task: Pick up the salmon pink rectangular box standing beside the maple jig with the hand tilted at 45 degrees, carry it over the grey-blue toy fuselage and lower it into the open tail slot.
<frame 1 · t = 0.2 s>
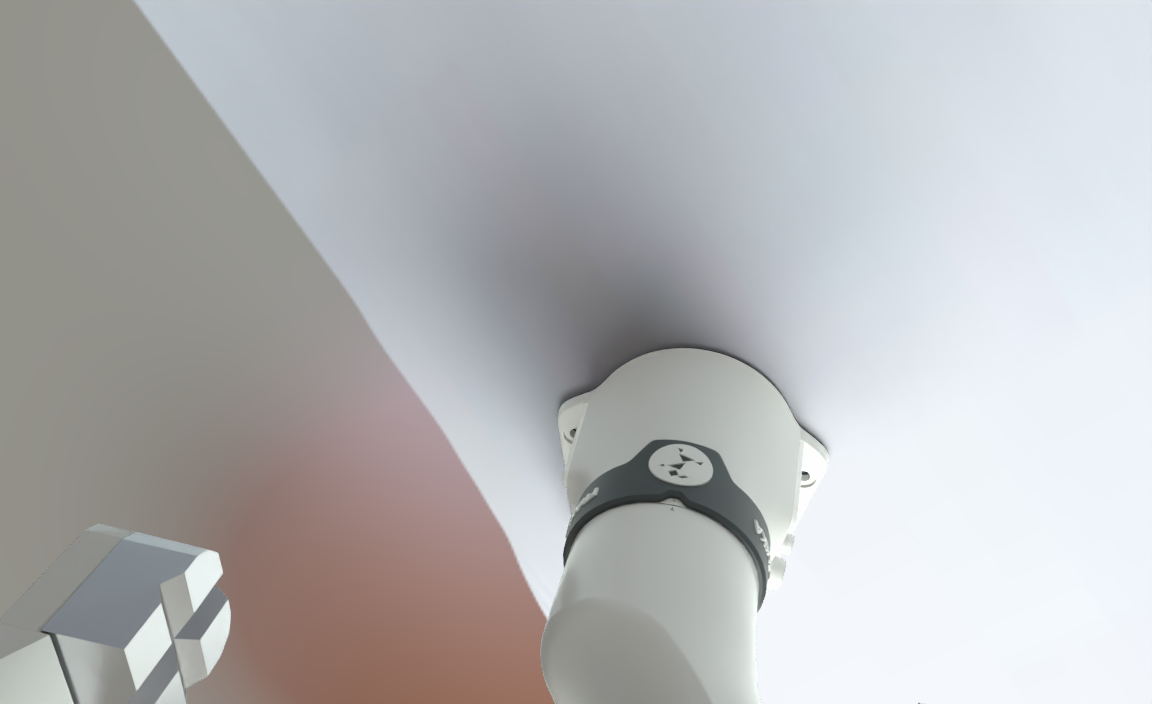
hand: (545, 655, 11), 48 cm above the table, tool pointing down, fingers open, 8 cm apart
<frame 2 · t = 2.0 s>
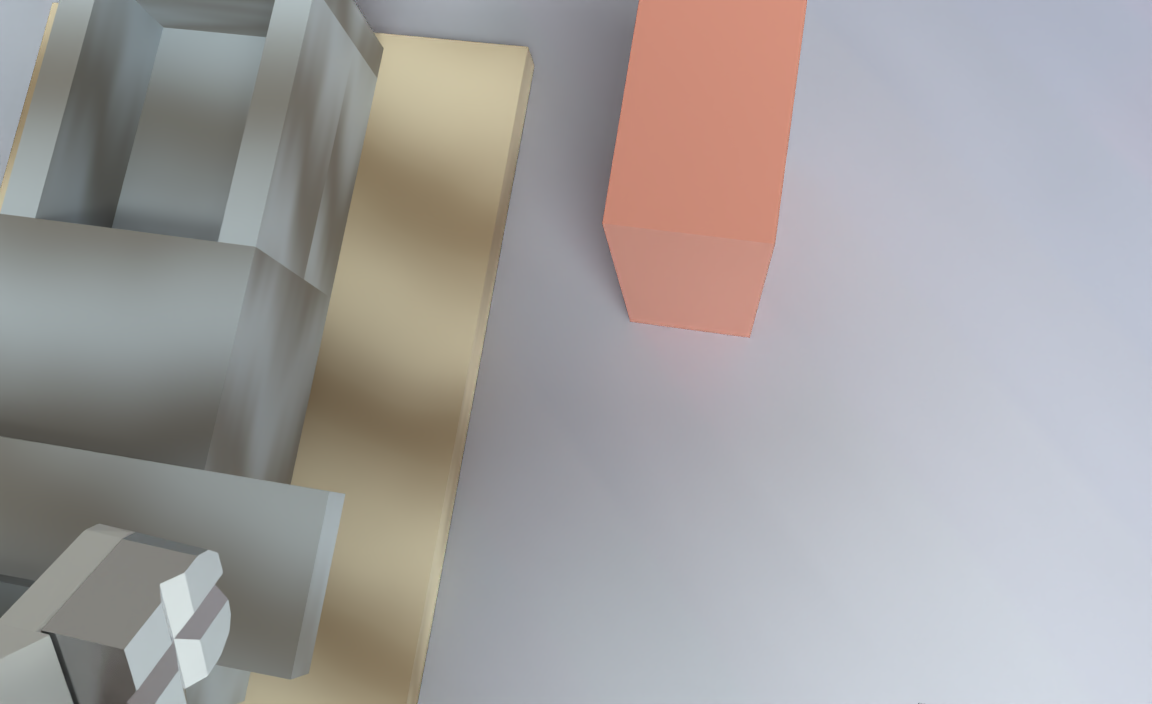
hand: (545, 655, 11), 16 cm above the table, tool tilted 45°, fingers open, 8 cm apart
jig: (220, 370, 30), on the table
salmon pink rectangular box: (702, 240, 29), on the table
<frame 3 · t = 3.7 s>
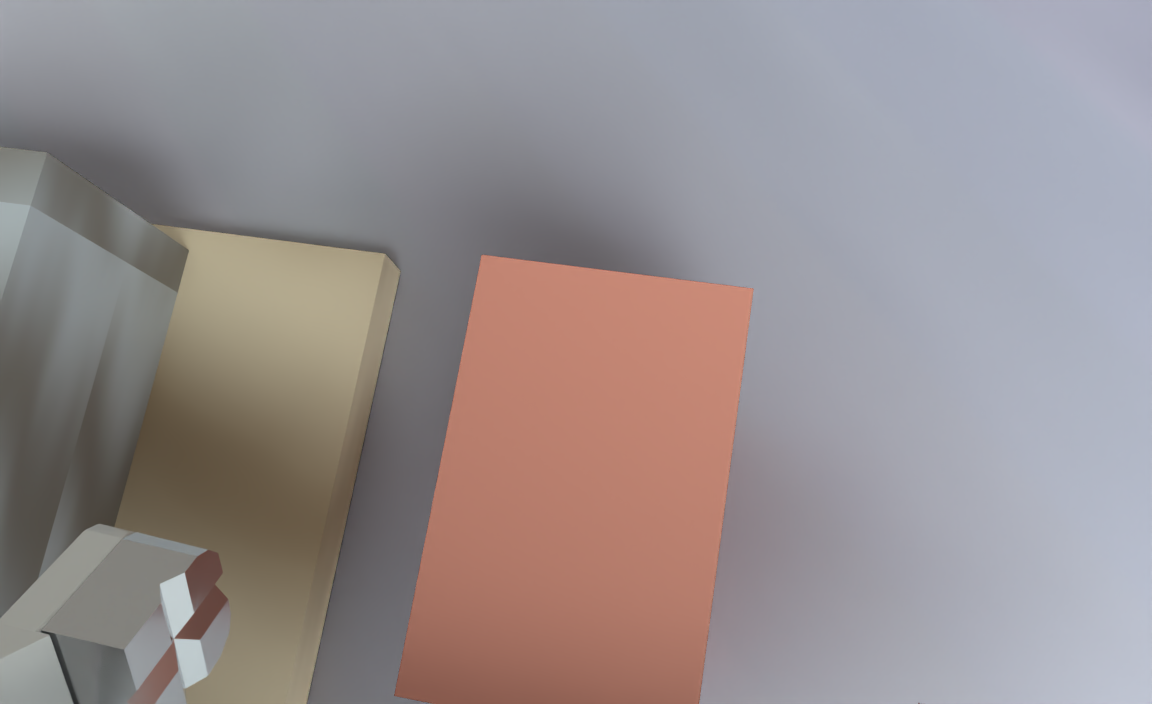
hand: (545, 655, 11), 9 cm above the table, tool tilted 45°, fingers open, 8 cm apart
salmon pink rectangular box: (624, 531, 20), on the table
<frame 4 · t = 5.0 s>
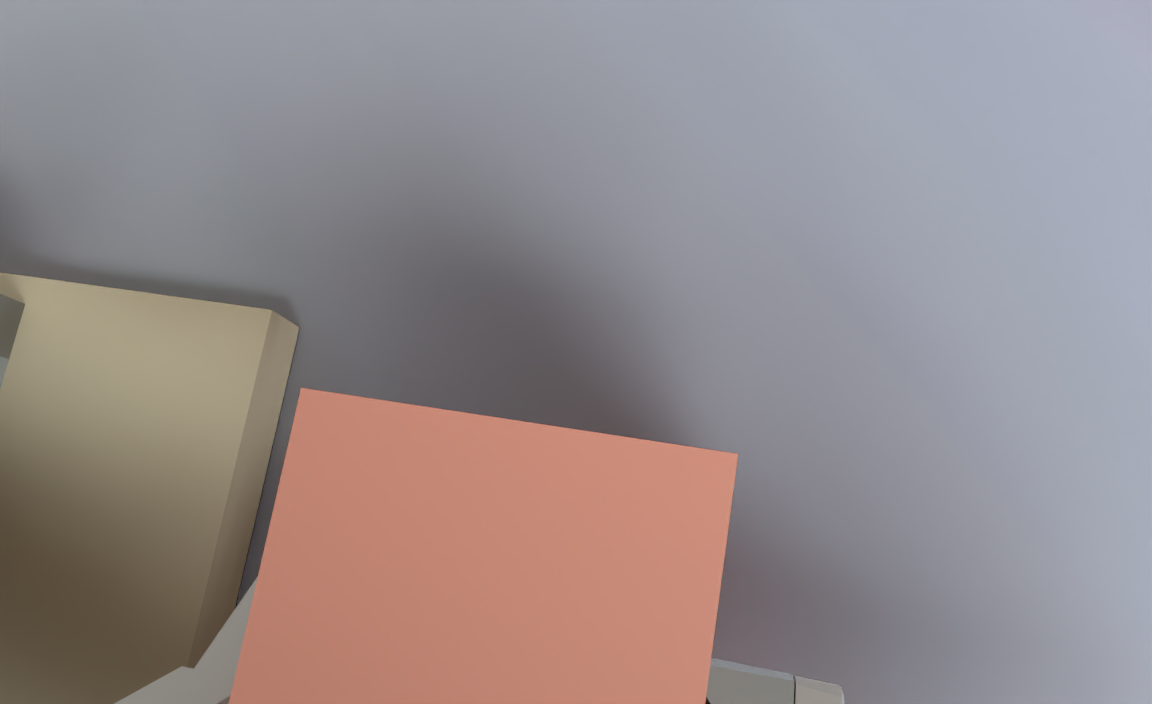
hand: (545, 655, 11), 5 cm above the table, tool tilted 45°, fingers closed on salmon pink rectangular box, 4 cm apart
salmon pink rectangular box: (579, 672, 16), on the table, touching gripper
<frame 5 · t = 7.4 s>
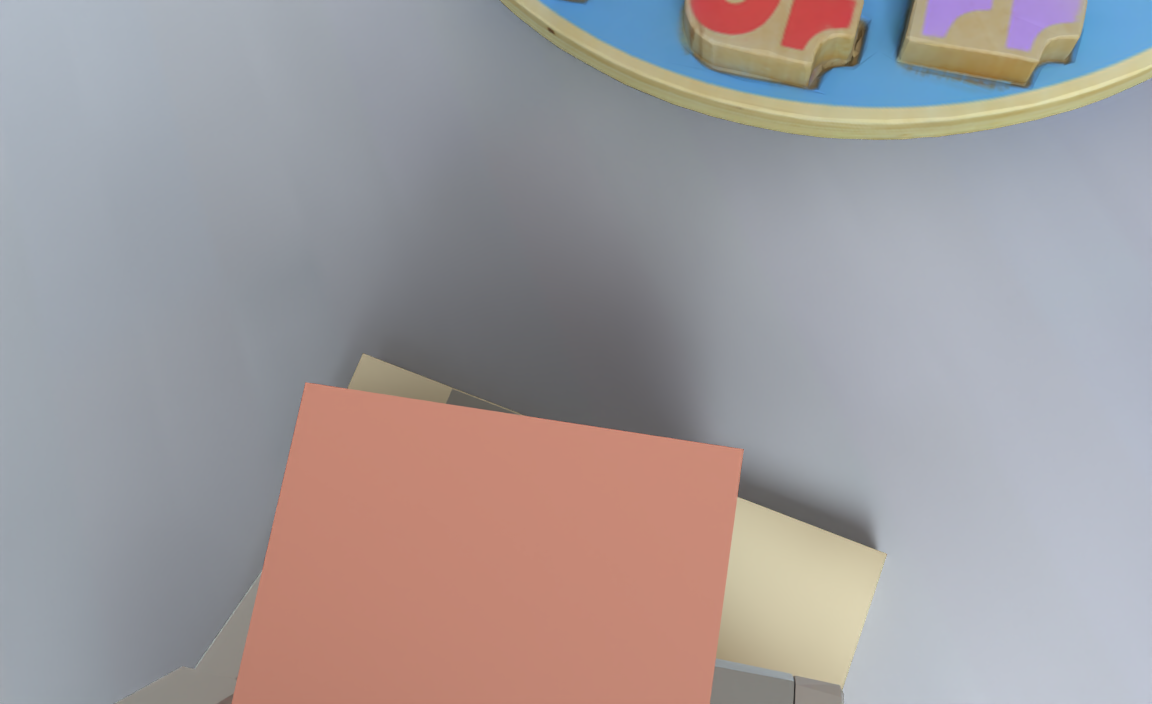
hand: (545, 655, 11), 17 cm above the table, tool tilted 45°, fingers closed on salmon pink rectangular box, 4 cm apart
salmon pink rectangular box: (581, 669, 16), point 12 cm above the table, touching gripper
when the fingers open (9 cm above the table, at t = 9.6 s): salmon pink rectangular box drops 1 cm, resting on jig.
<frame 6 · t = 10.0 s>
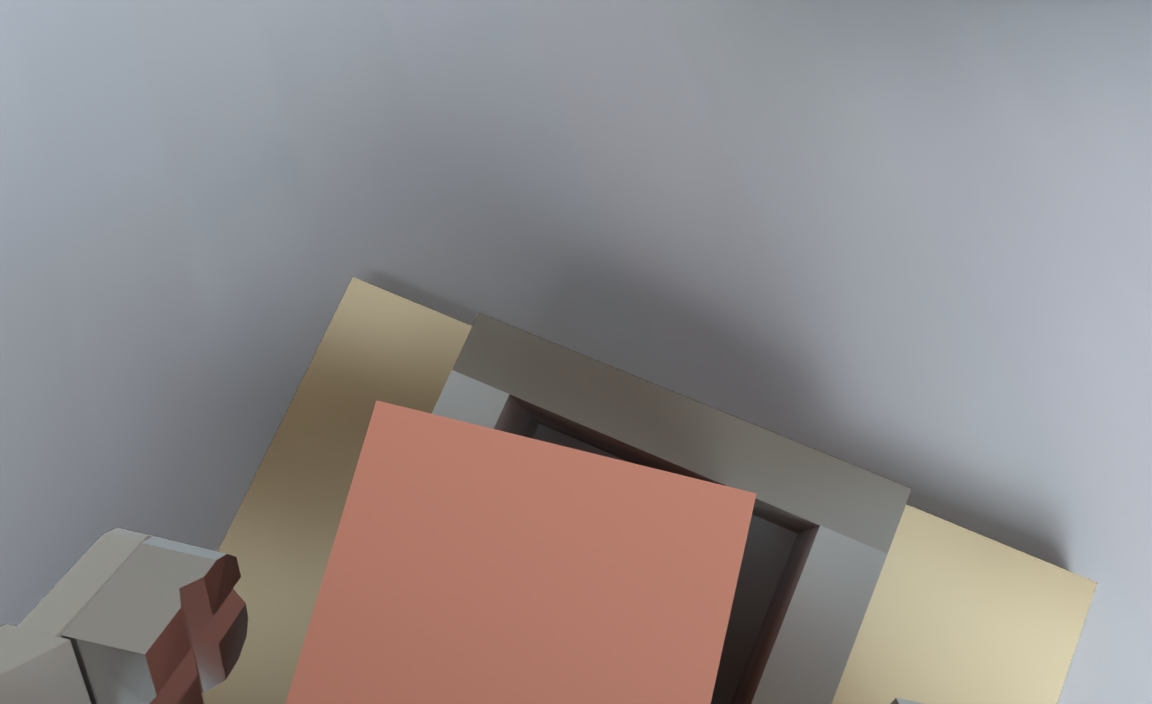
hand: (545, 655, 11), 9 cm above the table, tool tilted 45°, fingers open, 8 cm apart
salmon pink rectangular box: (587, 665, 17), point 3 cm above the table, touching jig
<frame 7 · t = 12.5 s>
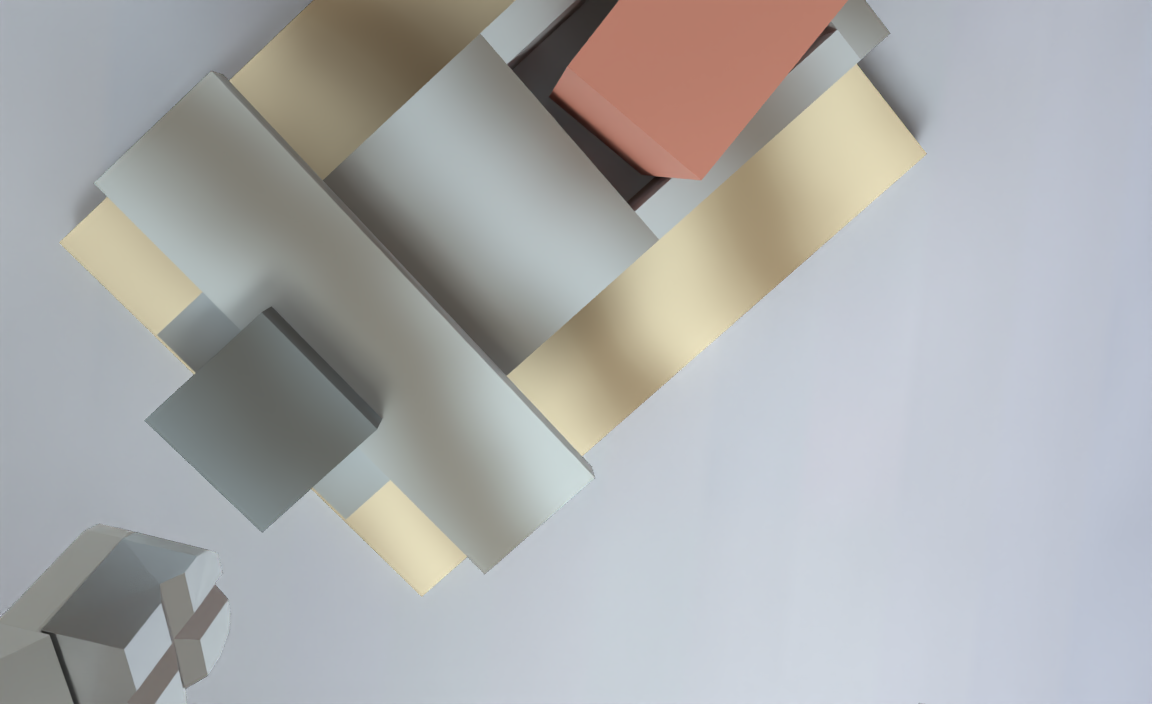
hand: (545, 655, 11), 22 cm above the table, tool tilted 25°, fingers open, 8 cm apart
jig: (502, 196, 31), on the table
salmon pink rectangular box: (656, 60, 28), point 3 cm above the table, touching jig
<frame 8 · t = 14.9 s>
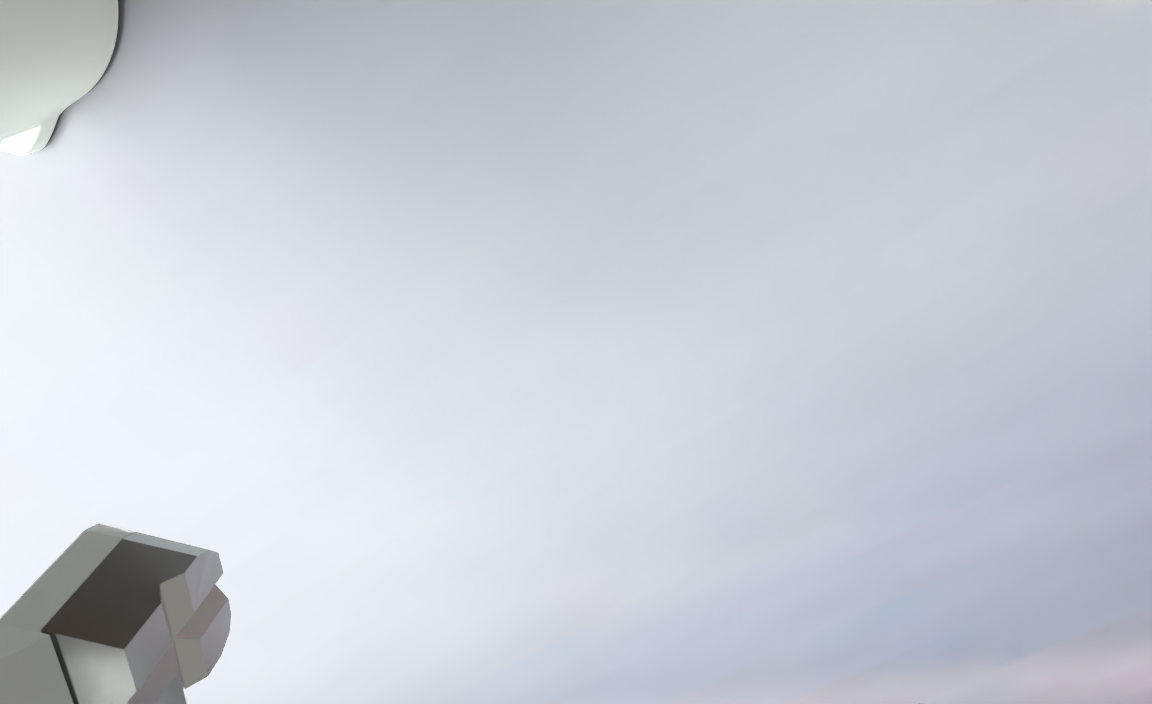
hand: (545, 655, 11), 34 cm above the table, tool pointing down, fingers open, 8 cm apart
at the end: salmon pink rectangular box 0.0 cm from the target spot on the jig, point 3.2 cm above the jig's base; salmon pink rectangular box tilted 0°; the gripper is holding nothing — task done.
